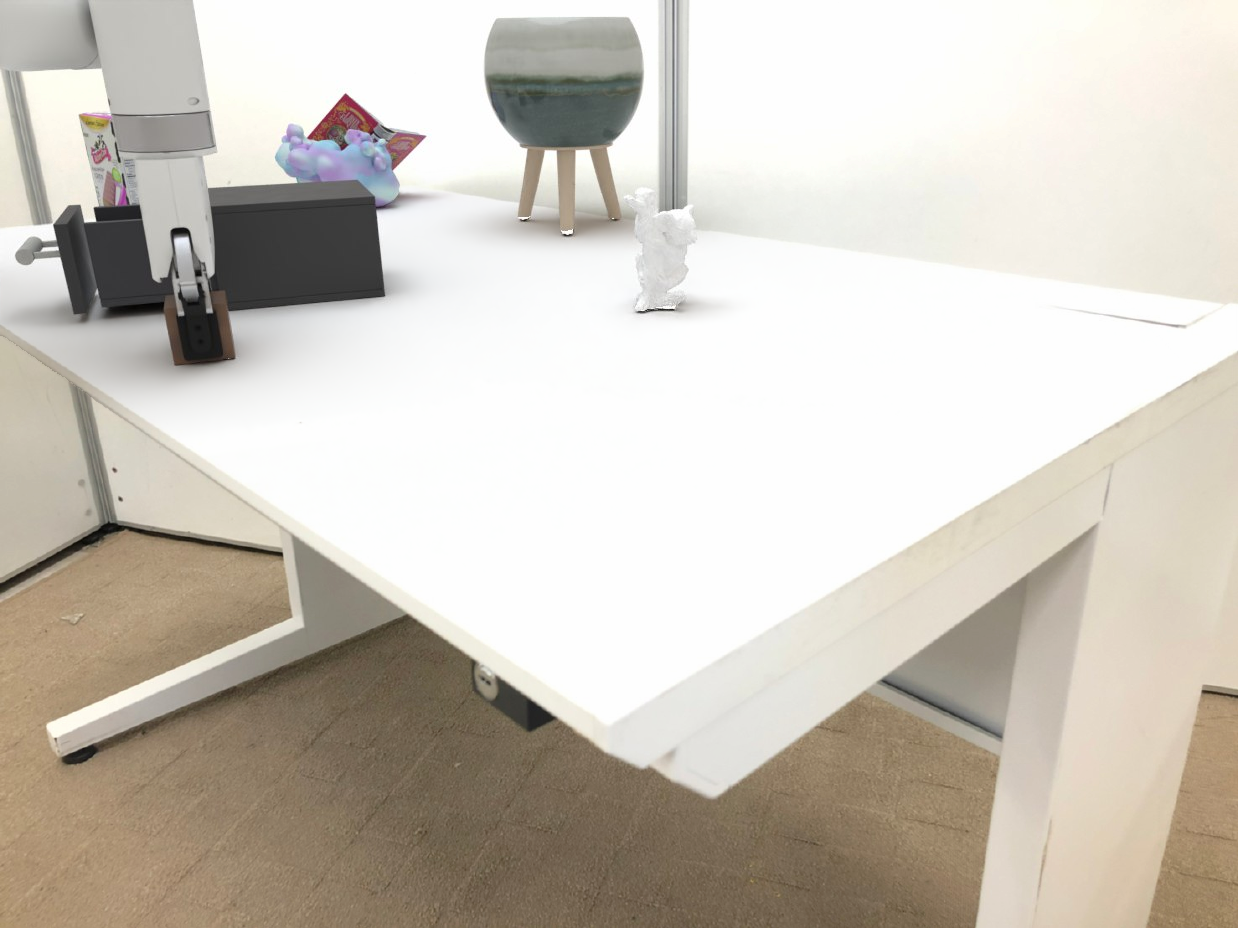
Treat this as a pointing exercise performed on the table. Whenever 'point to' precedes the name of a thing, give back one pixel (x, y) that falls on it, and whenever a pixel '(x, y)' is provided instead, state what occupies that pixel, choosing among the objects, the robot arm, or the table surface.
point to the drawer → (103, 258)
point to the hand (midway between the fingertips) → (203, 347)
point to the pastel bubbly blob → (348, 150)
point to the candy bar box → (108, 162)
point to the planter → (564, 96)
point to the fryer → (296, 243)
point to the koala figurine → (660, 249)
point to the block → (223, 321)
